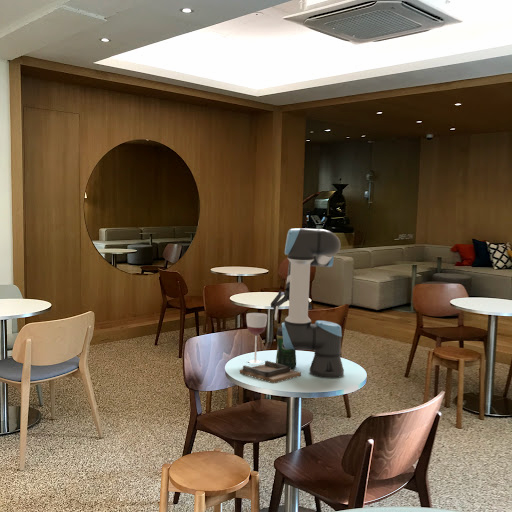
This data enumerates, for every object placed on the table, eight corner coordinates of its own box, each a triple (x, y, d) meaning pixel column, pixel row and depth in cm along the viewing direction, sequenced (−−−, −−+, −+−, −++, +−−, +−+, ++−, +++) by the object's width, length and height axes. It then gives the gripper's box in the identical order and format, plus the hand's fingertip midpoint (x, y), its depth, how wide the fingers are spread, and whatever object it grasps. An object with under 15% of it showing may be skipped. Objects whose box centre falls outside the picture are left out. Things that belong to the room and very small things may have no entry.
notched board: (300, 375, 248) (301, 368, 248) (273, 383, 235) (273, 374, 235) (267, 366, 262) (267, 359, 262) (239, 373, 249) (240, 365, 249)
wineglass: (265, 364, 266) (267, 316, 265) (244, 363, 266) (246, 315, 265) (265, 360, 275) (267, 313, 274) (245, 359, 275) (246, 312, 274)
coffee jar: (295, 364, 268) (296, 326, 267) (296, 369, 260) (298, 329, 259) (274, 364, 268) (276, 325, 267) (275, 368, 260) (277, 328, 259)
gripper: (318, 291, 288) (315, 325, 274) (269, 288, 292) (264, 322, 278) (318, 281, 283) (315, 316, 269) (268, 279, 287) (263, 313, 273)
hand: (289, 319), depth 274 cm, fingers open, 13 cm apart
